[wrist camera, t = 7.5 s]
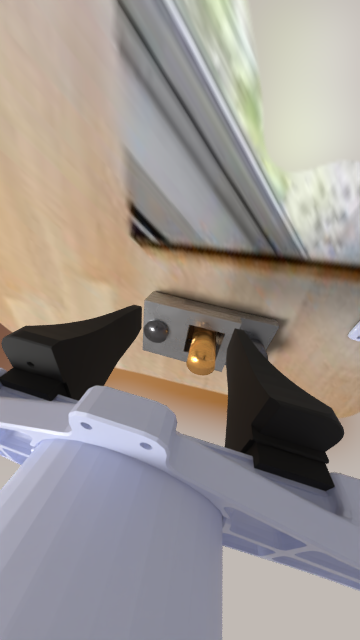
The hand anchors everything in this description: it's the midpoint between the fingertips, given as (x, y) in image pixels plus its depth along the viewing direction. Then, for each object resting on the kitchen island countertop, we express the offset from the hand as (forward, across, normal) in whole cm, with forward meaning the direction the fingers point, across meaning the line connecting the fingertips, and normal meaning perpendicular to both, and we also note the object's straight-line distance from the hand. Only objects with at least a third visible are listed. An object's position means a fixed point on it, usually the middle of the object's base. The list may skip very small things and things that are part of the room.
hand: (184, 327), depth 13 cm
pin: (+9, -2, +6) cm, 11 cm away
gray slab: (+9, -2, +6) cm, 11 cm away
